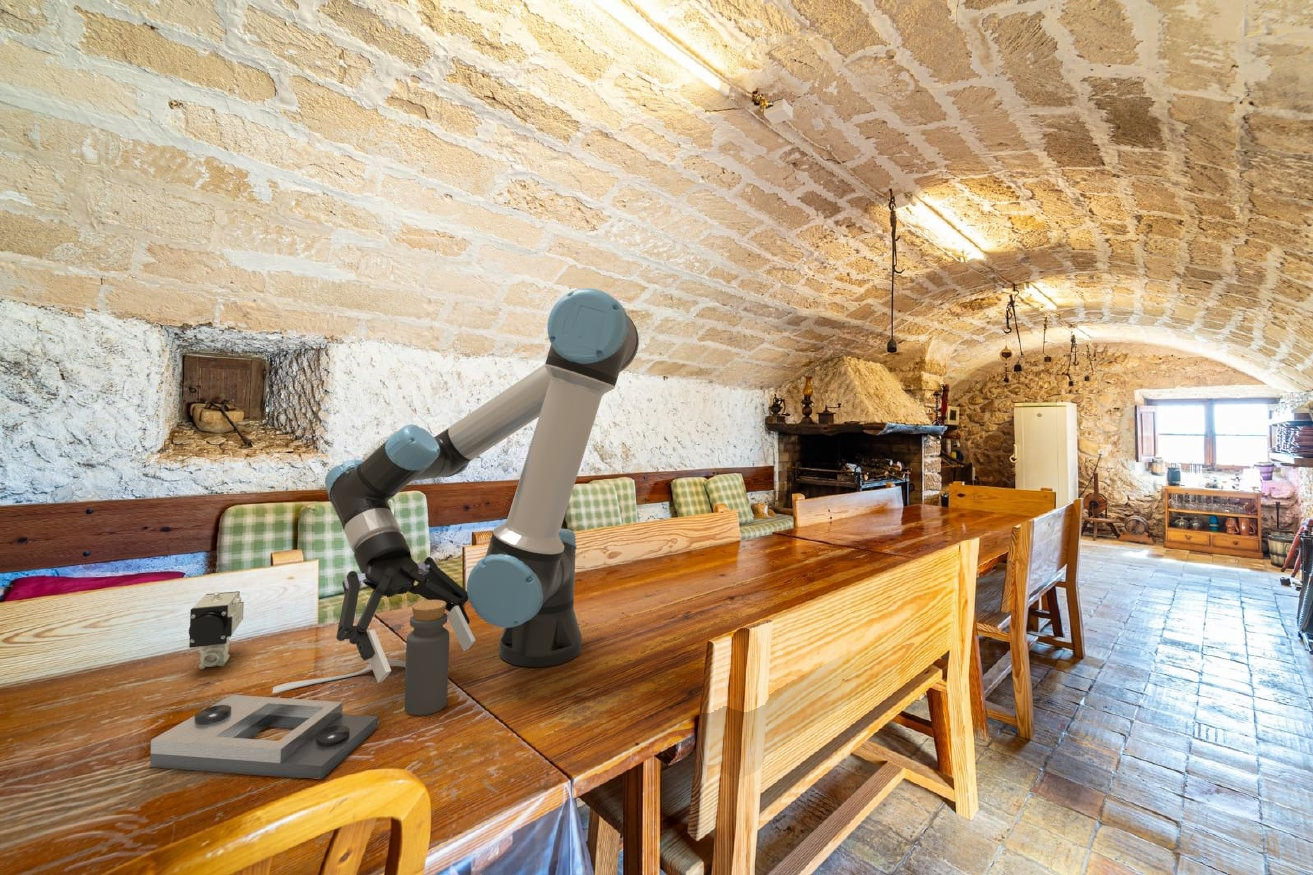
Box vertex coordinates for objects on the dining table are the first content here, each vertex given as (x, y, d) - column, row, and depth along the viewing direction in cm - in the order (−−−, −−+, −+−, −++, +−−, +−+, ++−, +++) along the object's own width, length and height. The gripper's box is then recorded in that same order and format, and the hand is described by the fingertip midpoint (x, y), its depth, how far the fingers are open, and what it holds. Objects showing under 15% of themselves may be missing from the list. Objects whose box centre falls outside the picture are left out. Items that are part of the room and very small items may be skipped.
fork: (270, 704, 83) (269, 686, 82) (416, 664, 93) (414, 649, 93) (268, 712, 80) (266, 694, 80) (418, 671, 91) (416, 655, 90)
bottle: (412, 696, 81) (416, 598, 81) (452, 695, 81) (455, 598, 81) (397, 716, 75) (401, 610, 75) (440, 715, 76) (443, 610, 76)
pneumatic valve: (185, 681, 83) (187, 604, 83) (206, 653, 94) (208, 585, 94) (229, 674, 86) (232, 600, 86) (245, 648, 96) (247, 582, 96)
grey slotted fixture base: (377, 728, 72) (378, 700, 72) (321, 780, 61) (322, 747, 61) (230, 717, 73) (231, 690, 73) (150, 767, 62) (151, 734, 62)
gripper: (437, 545, 98) (487, 647, 89) (282, 572, 77) (329, 707, 69) (455, 520, 95) (509, 623, 86) (300, 540, 74) (352, 677, 66)
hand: (430, 660), depth 78 cm, fingers open, 13 cm apart
